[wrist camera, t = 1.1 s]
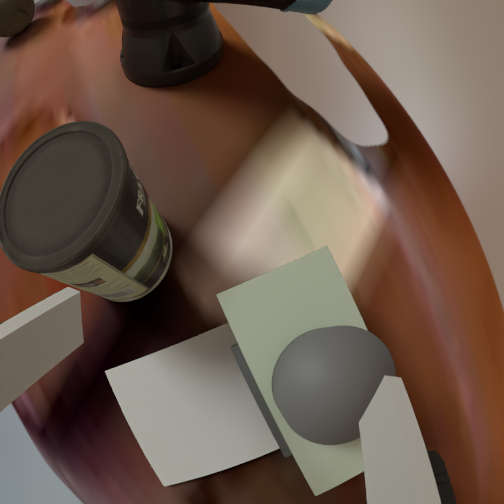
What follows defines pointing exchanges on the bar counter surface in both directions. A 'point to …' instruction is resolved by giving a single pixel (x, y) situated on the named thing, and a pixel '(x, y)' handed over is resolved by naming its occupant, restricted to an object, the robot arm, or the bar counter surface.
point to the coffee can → (83, 215)
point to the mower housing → (262, 381)
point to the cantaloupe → (15, 16)
